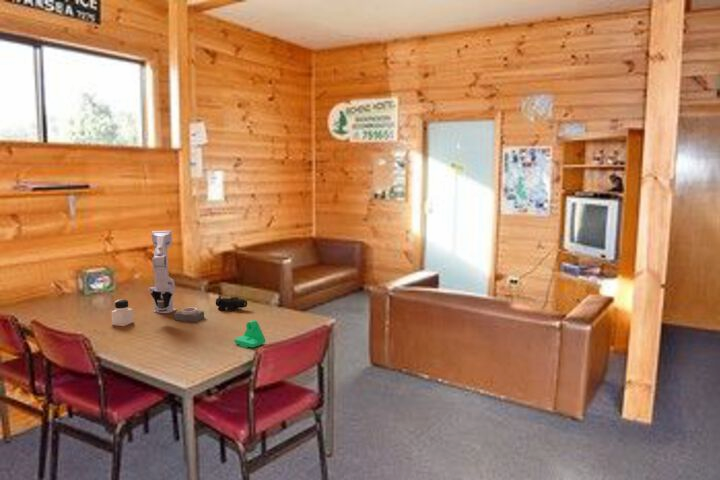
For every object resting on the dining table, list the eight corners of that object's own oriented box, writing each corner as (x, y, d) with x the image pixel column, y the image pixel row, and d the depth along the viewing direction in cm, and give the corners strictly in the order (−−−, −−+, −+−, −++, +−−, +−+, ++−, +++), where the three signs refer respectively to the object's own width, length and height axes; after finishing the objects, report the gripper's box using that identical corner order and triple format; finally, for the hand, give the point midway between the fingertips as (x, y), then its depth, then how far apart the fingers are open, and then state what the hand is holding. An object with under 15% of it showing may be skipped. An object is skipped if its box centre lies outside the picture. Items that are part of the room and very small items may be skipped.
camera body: (174, 320, 264) (174, 310, 264) (184, 315, 272) (184, 306, 271) (194, 322, 261) (194, 312, 260) (204, 317, 268) (203, 308, 267)
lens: (155, 311, 256) (155, 299, 256) (162, 308, 261) (161, 297, 260) (163, 312, 255) (162, 300, 254) (169, 309, 259) (168, 298, 258)
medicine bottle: (133, 322, 261) (132, 299, 259) (123, 326, 255) (121, 302, 253) (122, 320, 264) (121, 298, 262) (111, 325, 257) (110, 301, 255)
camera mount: (233, 344, 229) (232, 322, 227) (246, 339, 235) (245, 317, 234) (252, 350, 222) (251, 327, 221) (265, 344, 228) (264, 322, 227)
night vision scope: (246, 314, 281) (239, 307, 273) (217, 313, 286) (209, 305, 278) (250, 301, 285) (243, 293, 277) (221, 300, 290) (213, 292, 282)
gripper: (143, 280, 254) (145, 307, 256) (167, 282, 250) (169, 309, 252) (153, 277, 261) (155, 303, 263) (177, 279, 256) (178, 305, 258)
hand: (162, 306), depth 258 cm, fingers closed on lens, 4 cm apart
